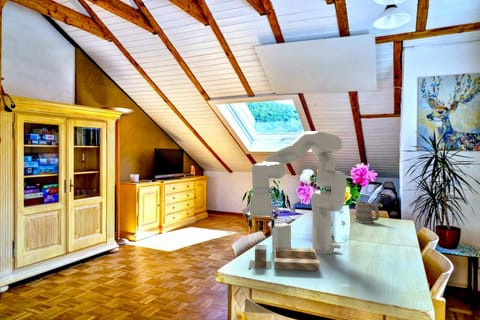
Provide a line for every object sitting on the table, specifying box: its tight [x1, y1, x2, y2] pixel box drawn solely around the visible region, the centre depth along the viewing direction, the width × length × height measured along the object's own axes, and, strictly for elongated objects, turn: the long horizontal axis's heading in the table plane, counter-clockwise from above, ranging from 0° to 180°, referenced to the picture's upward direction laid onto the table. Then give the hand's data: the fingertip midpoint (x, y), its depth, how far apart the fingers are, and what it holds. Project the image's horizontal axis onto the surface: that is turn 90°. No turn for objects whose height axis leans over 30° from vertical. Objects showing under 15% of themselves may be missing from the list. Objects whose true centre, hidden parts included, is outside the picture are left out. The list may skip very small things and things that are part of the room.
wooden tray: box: [273, 247, 321, 271], centre depth 151 cm, size 19×20×5 cm
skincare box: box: [271, 222, 292, 253], centre depth 169 cm, size 8×6×15 cm
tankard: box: [353, 201, 384, 224], centre depth 242 cm, size 20×13×15 cm, turn 43°
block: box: [254, 244, 267, 267], centre depth 150 cm, size 5×7×8 cm
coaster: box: [248, 259, 272, 270], centre depth 150 cm, size 10×10×1 cm
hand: (261, 228), depth 150 cm, fingers open, 9 cm apart
